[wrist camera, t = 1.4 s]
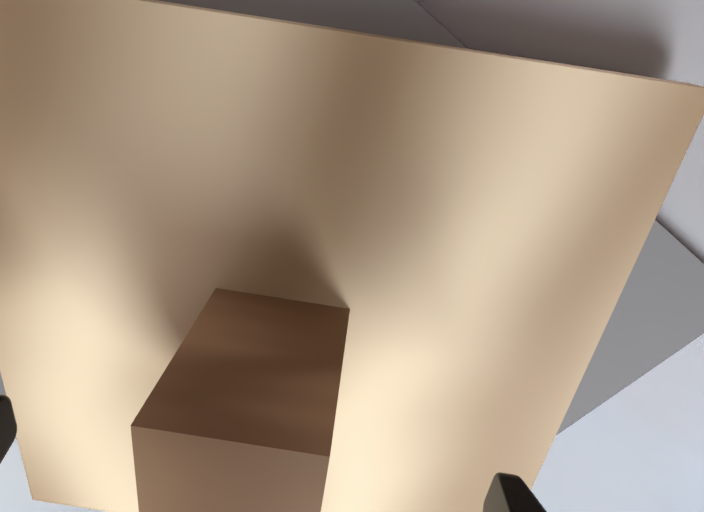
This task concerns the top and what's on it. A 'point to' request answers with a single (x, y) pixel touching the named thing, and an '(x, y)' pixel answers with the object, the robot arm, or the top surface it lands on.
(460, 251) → the lid
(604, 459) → the top surface
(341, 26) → the mat
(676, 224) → the top surface
